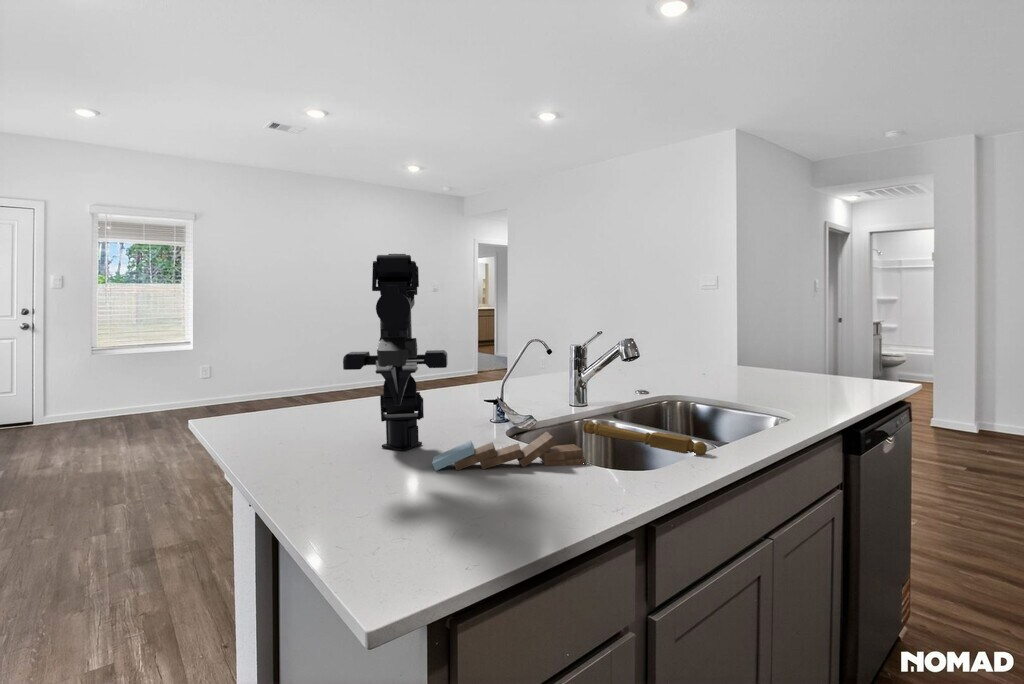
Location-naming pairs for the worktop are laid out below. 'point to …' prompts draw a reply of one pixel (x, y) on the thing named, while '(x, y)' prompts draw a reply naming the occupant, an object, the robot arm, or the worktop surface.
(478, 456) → the domino
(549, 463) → the domino
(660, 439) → the brown turned wooden rod
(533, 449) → the domino
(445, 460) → the domino
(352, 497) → the worktop surface
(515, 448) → the domino
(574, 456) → the domino
